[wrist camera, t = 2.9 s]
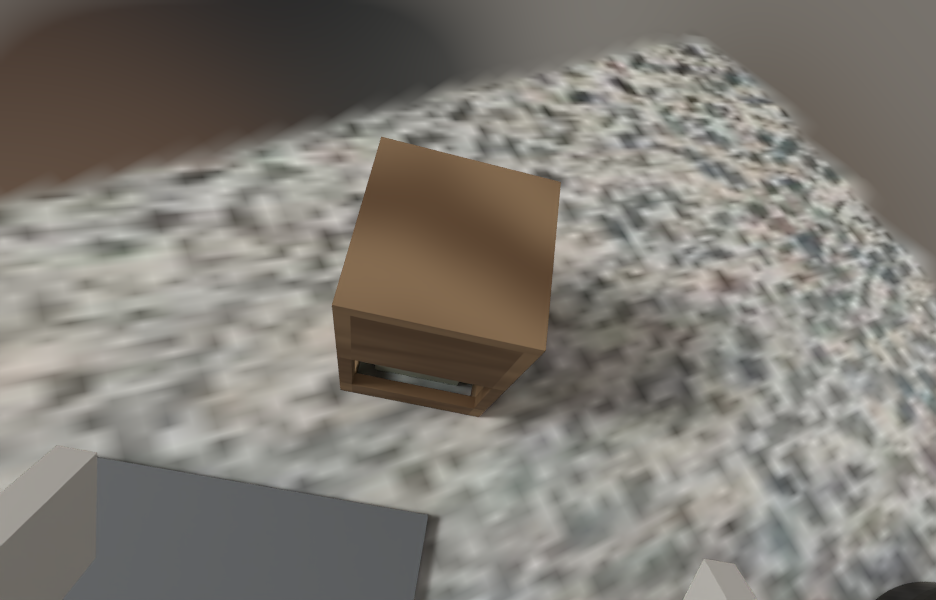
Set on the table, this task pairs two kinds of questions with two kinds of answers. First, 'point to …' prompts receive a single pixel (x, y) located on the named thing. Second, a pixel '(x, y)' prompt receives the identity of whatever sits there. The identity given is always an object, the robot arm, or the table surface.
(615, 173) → the table surface
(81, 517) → the robot arm
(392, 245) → the wooden nightstand
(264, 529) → the mat
